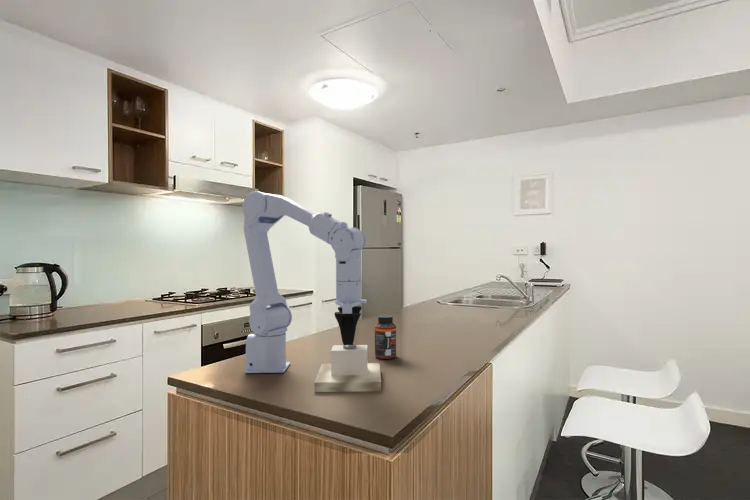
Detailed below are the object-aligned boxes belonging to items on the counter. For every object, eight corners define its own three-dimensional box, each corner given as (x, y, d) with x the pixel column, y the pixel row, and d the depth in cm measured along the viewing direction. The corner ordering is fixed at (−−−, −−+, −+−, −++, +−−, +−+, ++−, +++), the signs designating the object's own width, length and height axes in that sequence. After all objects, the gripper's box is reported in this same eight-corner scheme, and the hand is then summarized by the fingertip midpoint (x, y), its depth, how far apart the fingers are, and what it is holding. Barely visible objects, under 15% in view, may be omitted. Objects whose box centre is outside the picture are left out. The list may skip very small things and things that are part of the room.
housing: (331, 375, 91) (331, 348, 91) (333, 368, 96) (333, 343, 96) (367, 375, 91) (367, 348, 91) (367, 368, 96) (367, 342, 96)
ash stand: (314, 392, 86) (314, 382, 86) (322, 371, 100) (322, 363, 100) (381, 391, 86) (381, 381, 86) (379, 371, 100) (379, 363, 100)
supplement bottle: (394, 360, 110) (394, 318, 110) (372, 359, 111) (372, 317, 111) (397, 354, 116) (397, 314, 115) (377, 353, 117) (376, 314, 117)
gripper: (366, 283, 86) (366, 348, 86) (366, 278, 100) (366, 333, 100) (332, 283, 86) (332, 348, 86) (337, 278, 100) (337, 333, 100)
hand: (348, 340), depth 93 cm, fingers open, 7 cm apart
